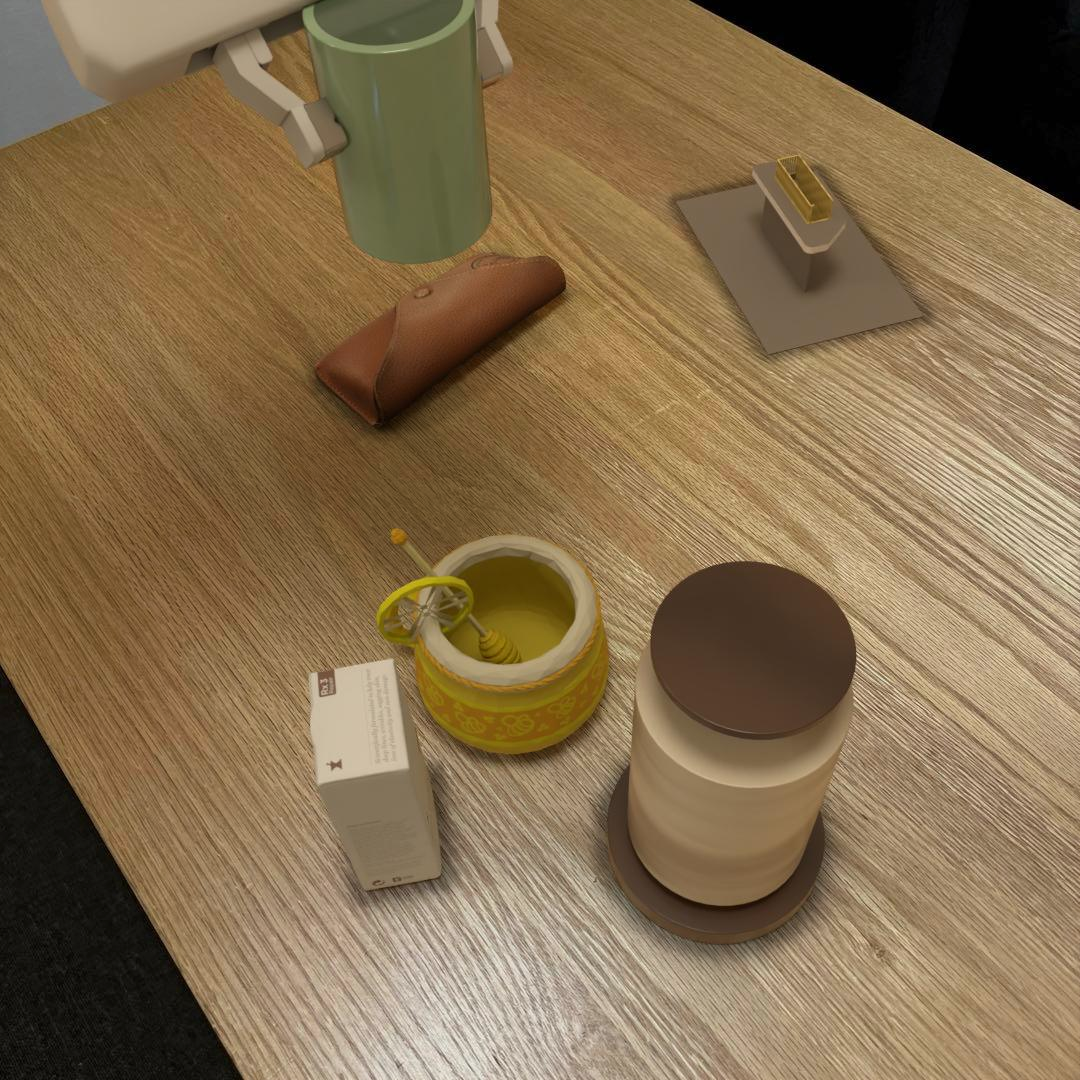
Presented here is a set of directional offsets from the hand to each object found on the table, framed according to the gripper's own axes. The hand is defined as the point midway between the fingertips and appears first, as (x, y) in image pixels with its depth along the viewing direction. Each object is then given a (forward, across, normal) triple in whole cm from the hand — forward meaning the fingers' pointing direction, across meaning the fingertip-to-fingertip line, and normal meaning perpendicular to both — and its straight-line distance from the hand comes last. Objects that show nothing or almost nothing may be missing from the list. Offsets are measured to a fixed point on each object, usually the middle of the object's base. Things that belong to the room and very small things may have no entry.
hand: (413, 119), depth 44 cm
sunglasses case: (+9, +11, +38) cm, 41 cm away
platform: (+15, +37, +32) cm, 51 cm away
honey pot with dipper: (+27, -2, +20) cm, 34 cm away
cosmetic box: (+30, -12, +17) cm, 36 cm away
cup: (+3, 0, +4) cm, 5 cm away
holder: (+37, +1, +10) cm, 38 cm away
